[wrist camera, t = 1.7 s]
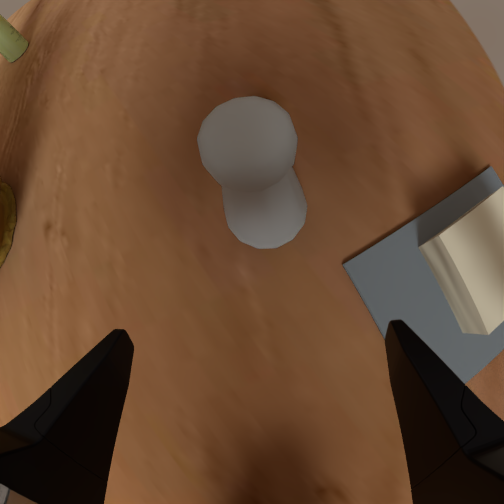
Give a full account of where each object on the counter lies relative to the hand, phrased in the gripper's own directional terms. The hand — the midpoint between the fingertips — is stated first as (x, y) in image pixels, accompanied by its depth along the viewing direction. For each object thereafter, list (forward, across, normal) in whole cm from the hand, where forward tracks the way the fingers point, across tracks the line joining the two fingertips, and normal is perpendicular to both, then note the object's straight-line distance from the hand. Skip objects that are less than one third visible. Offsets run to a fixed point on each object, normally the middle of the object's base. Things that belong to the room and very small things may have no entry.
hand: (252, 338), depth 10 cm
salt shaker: (+15, 0, +4) cm, 16 cm away
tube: (+41, +42, -22) cm, 62 cm away
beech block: (+12, -17, +7) cm, 22 cm away
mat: (+11, -16, +8) cm, 21 cm away
